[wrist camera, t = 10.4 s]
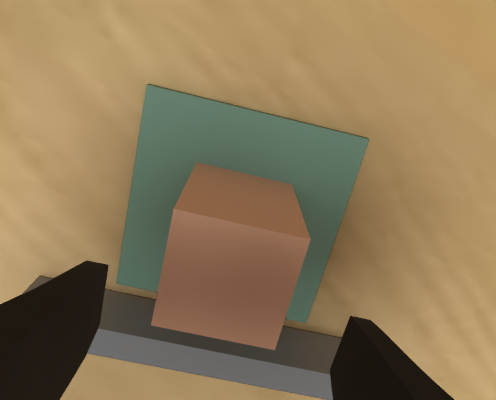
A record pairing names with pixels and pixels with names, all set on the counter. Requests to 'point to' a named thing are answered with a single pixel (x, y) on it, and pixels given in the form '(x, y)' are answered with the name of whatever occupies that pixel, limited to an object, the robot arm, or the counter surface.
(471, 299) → the counter surface
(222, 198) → the terracotta block
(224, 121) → the rubber mat
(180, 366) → the low wall
